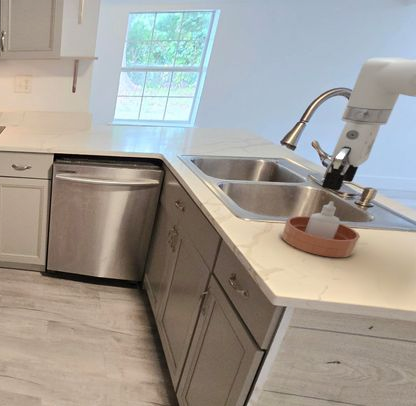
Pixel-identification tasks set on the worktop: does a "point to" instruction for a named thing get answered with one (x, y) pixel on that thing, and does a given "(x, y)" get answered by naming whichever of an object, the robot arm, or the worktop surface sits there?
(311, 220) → the eye dropper bottle
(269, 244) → the worktop surface
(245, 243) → the worktop surface
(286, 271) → the worktop surface
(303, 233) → the bowl
